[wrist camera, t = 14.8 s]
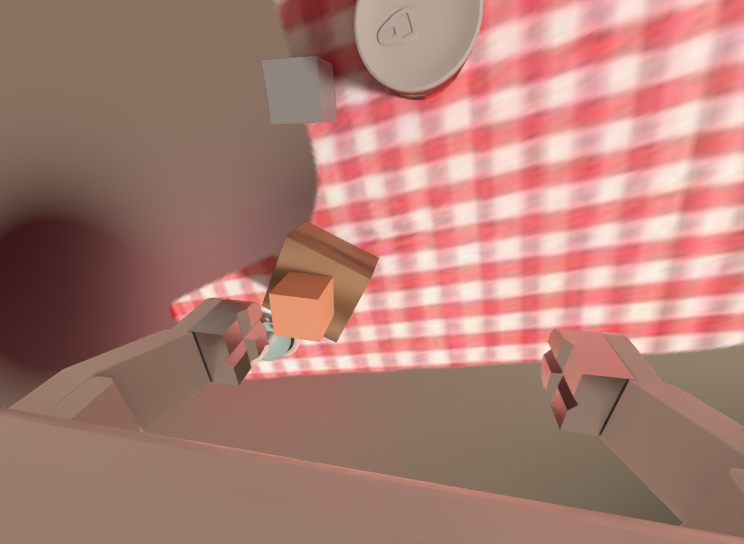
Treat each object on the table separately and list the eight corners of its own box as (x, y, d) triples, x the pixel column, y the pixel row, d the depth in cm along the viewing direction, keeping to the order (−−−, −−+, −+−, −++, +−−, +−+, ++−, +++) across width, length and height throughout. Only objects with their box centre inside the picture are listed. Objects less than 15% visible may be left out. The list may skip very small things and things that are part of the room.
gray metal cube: (285, 68, 31) (261, 59, 27) (333, 64, 31) (316, 55, 26) (292, 123, 34) (271, 124, 29) (337, 121, 33) (322, 121, 28)
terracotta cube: (289, 271, 35) (268, 293, 30) (333, 276, 34) (318, 299, 30) (293, 309, 37) (274, 335, 33) (334, 314, 36) (320, 341, 32)
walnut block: (306, 220, 38) (286, 236, 33) (379, 257, 39) (370, 279, 34) (283, 282, 43) (261, 305, 38) (348, 315, 43) (336, 342, 38)
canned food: (363, 47, 29) (328, 11, 20) (436, -26, 26) (438, -111, 17) (409, 119, 31) (398, 119, 22) (483, 59, 28) (508, 28, 19)
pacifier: (308, 327, 46) (270, 309, 45) (292, 356, 40) (248, 336, 40) (292, 359, 49) (257, 343, 49) (275, 391, 44) (235, 373, 43)
